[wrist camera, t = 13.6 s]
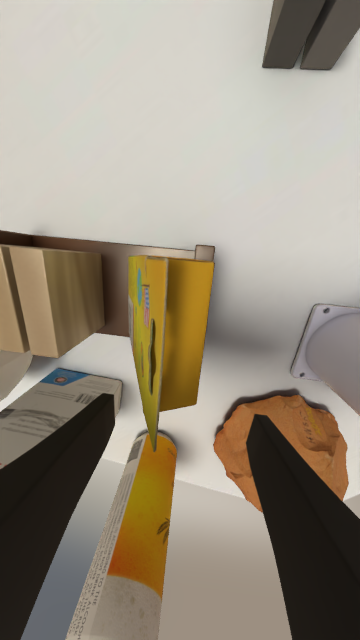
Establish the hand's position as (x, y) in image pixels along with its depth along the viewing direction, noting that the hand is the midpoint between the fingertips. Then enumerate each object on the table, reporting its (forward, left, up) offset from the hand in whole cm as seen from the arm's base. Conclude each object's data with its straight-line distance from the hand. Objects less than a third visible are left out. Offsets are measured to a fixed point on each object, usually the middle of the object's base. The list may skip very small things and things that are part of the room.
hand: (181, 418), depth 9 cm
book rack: (+8, -4, -10) cm, 14 cm away
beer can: (+3, +17, -11) cm, 20 cm away
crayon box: (+5, -4, -9) cm, 11 cm away
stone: (-11, +14, -12) cm, 21 cm away
